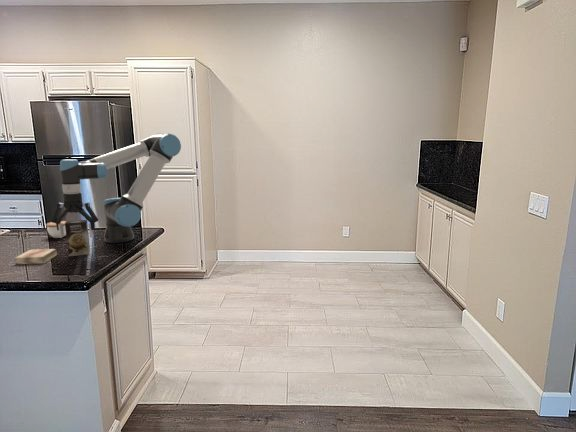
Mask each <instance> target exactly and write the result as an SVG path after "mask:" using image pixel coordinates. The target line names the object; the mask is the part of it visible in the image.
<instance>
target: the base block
mask: <svg viewBox="0 0 576 432" xmlns="http://www.w3.org/2000/svg"><path fill="white" fill-rule="evenodd" d="M57 255H58V252H57V248H43V249H42V248H41V249H37V248H36V249H28V250H27V251H24V252H23V253H21V254H19V255H17V256H15V257H14V261H15V265H32V264H34V265H35V264H46V263H47V262H49V261H50V260H51V259H53V258H55V257H57Z"/></svg>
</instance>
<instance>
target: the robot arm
mask: <svg viewBox="0 0 576 432" xmlns="http://www.w3.org/2000/svg"><path fill="white" fill-rule="evenodd" d="M181 149H182V144H181V141H180V139H179V138H178V137H177V135H175V134H172V133H169V132H168V133H167V132H166V133H161V132H160V133H159V132H158V133H155V134H153V135H150V136H148V137H146V138H143V139H140V140H139V142H137V143H135V144H131V145H128V146H125V147H122V148H119V149H117V150H116V149H115V150H114V151H111V152H108V153H106V154H102V155H99V156H96V157H94V158H91V159H88V160H82V161H79V160H78V159H73V158H72V159H66V158H65V159H61V160H60V162H59V170H60V178H61V189H62V192H63V194H62V196H63V202H58V203H56V209H55V212H54V214H53V216H52V219H51V221H50V222H52V223H56V226H57V230H59V235H60V238H63V236H64V231H63V223H61V221H64V219H65V218H66V216H67V215H68V214H69V213H70V214H72V213H75V214H76V213H79V214H80V215H82V216H83V217H84V219H85V220H87V222H89V223H88V235H89V238H93V237H94V235H95V234H94V230H95V229H96V227H95V226H96V225H95V223H96V222H98V221H99V218H98V217H97V215H96V214H95V212H94V210H93V208H91V204H90V202H83V196H82V195H83V194H82V193H81V192H82V187H81V180H94V179H99V180H100V179H106V178H107V176H108V170H109V169H113V168H114V167H118V166H121V165H123V164H126V163H128V162H129V163H130V162H132V161H134V160H138V159H141V158H143V157H146V158H147V160H146V162H145V163H144V165H143V167H142V168H141V170H140V172H139V173H138V175H137V177H136V178H135V180H134V182H132V185H131V187H130V189H129V190H128V192H127V193H125V194H123V195H122V196H121V197H112V198H107V199H104V200H103V207H104V217H105V225H106V228H105V231H104V235H103V240H104V242H105V243H107V244H108V243H109V244H118V243H125V242H129V241H132V240H134V239H135V234H134V233H135V232H134V231H133V230H132V227H133V226H135V225H137V224H138V223H139V221H140V220H141V216H142V213H141V212H142V210H143V208H144V201H145V199H146V198H147V195H148V194H149V192H150V191H151V189H152V187H153V186H154V184H155V182H156V181H157V178H158V177H159V175H160V174H161V172H162V170H163V169H164V167H165V165H166V164H169V163H170V162H171V161H172V159H173V157H175V156H177V155H179V154H180V152H181ZM63 207H64V208H65V209H64V210H63V213H62V214H61V215H60V213H61V211H62V209H63ZM83 207H84V208H85V209H84V208H83ZM85 210H86V211H85ZM64 237H65V236H64Z"/></svg>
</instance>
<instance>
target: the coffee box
mask: <svg viewBox="0 0 576 432" xmlns="http://www.w3.org/2000/svg"><path fill="white" fill-rule="evenodd" d="M65 221H66V222H65V229H66V235H65V237H66V245H67V253H68V254H67V255H68V257H74V256H84V255H85V256H87V255H90V253H91V247H90V239H89V238H90V234H89V224H88V220H87V219H78V220H65Z"/></svg>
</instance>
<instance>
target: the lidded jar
mask: <svg viewBox="0 0 576 432" xmlns="http://www.w3.org/2000/svg"><path fill="white" fill-rule="evenodd" d="M66 221H67V220H62V221H61V223H63V231H64V236H63V237H66V229H65V222H66ZM45 226H46V229H47V232H48V234H49V236H51V237H52V238H53V239H58V238H60V235H59V230H57V226H56V223H52V222H51V221H50V222H47V223H46V225H45ZM63 237H62V238H63Z"/></svg>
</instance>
